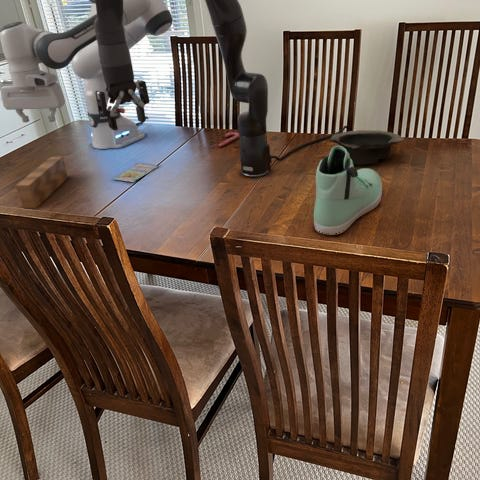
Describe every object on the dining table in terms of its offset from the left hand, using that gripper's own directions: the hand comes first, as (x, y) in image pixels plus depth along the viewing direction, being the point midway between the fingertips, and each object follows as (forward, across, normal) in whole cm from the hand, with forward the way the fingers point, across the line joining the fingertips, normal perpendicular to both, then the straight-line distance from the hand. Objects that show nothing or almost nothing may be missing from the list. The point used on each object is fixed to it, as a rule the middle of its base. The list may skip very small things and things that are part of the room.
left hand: (39, 121), depth 159 cm
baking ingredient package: (+22, +27, +7) cm, 36 cm away
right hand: (-6, +41, -26) cm, 49 cm away
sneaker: (+22, +100, -20) cm, 105 cm away
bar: (+22, 0, -8) cm, 23 cm away
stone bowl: (+22, +108, +20) cm, 112 cm away
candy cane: (+22, +56, +38) cm, 71 cm away
